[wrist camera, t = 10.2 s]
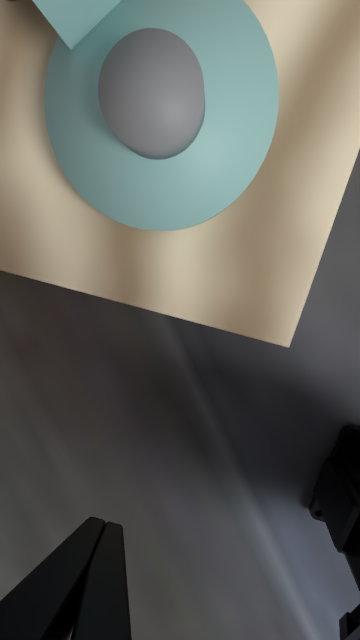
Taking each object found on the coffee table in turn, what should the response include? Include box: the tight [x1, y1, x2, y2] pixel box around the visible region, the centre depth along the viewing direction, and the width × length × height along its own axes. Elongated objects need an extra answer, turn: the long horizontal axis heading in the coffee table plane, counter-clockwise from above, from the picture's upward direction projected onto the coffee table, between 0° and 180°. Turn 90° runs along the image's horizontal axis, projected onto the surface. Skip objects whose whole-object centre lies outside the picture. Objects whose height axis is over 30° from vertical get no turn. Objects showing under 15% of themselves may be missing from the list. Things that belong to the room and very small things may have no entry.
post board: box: [0, 0, 360, 347], centre depth 15 cm, size 18×18×5 cm
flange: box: [32, 0, 279, 231], centre depth 13 cm, size 16×10×5 cm, turn 36°
